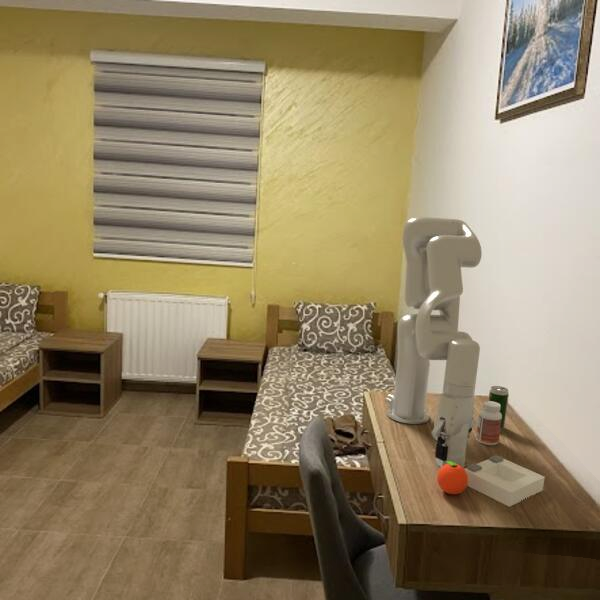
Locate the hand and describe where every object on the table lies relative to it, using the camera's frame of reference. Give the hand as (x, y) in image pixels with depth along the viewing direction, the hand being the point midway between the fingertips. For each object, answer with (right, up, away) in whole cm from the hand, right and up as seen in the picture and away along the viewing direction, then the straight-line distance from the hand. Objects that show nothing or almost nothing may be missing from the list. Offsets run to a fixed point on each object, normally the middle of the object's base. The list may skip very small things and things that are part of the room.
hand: (450, 455), depth 159 cm
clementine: (-3, -5, -13) cm, 14 cm away
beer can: (+20, +1, +28) cm, 34 cm away
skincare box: (0, -3, +1) cm, 3 cm away
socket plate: (+10, -5, -9) cm, 14 cm away
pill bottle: (+14, -1, +17) cm, 23 cm away
